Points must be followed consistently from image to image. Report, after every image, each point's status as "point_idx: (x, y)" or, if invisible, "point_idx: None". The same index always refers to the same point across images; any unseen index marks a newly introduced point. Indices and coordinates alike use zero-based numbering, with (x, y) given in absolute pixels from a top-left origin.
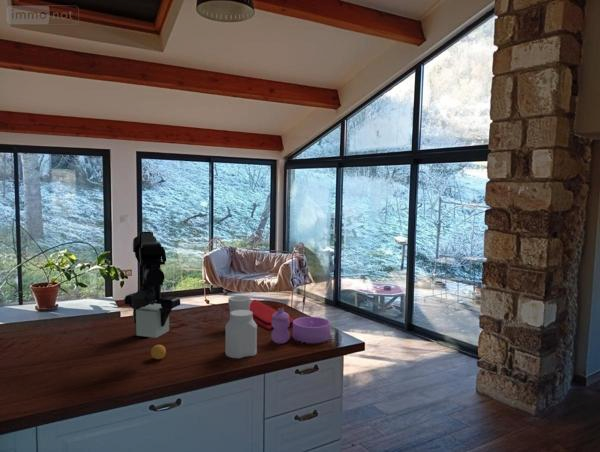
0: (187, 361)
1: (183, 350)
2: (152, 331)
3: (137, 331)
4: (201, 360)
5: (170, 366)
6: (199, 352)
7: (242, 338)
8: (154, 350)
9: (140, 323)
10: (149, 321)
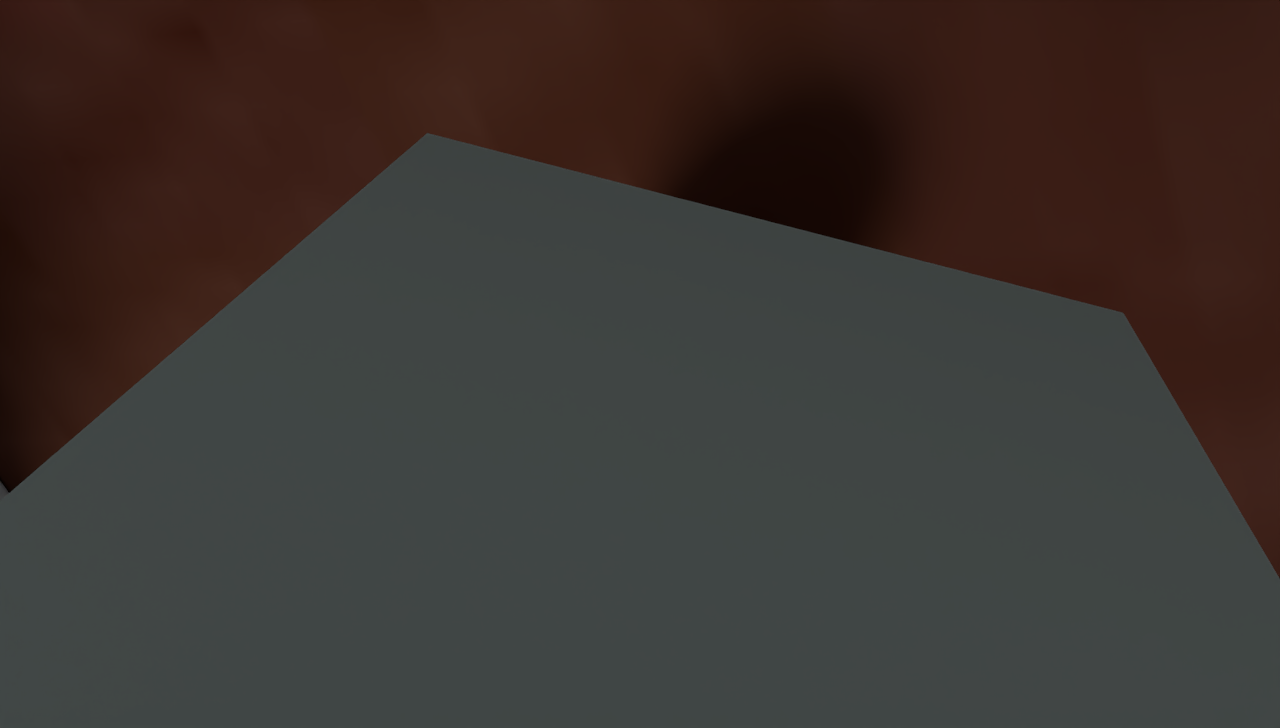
0: (274, 241)
1: None
2: (487, 236)
3: (1113, 370)
4: (126, 282)
5: (407, 38)
6: None
7: None
8: None
9: (1046, 544)
10: (497, 500)
